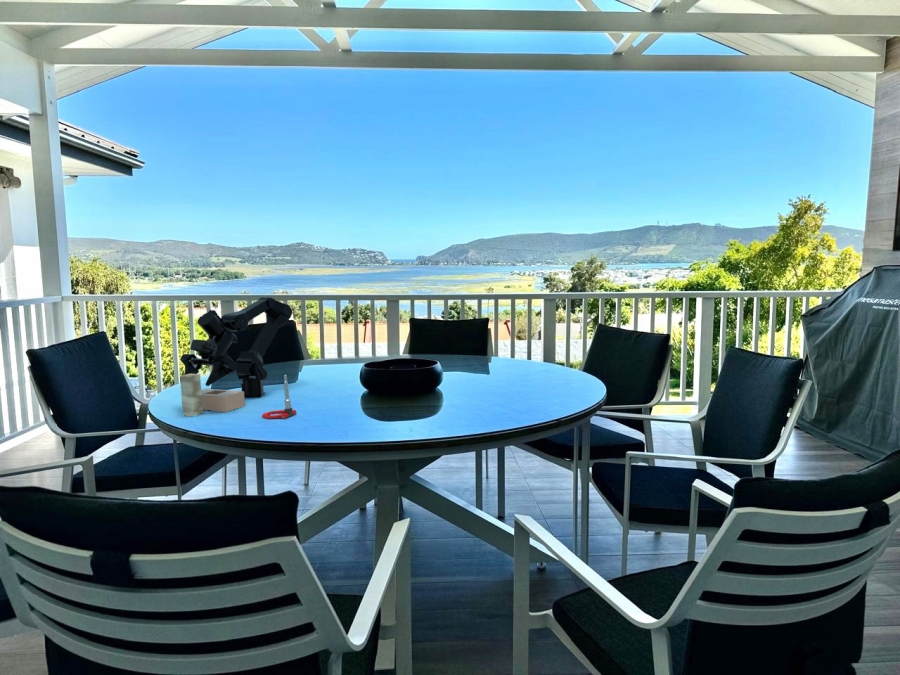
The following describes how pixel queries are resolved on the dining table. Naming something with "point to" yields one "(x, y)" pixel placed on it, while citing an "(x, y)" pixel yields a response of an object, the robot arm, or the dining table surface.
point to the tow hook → (288, 409)
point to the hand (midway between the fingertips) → (195, 384)
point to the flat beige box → (222, 400)
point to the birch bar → (191, 394)
